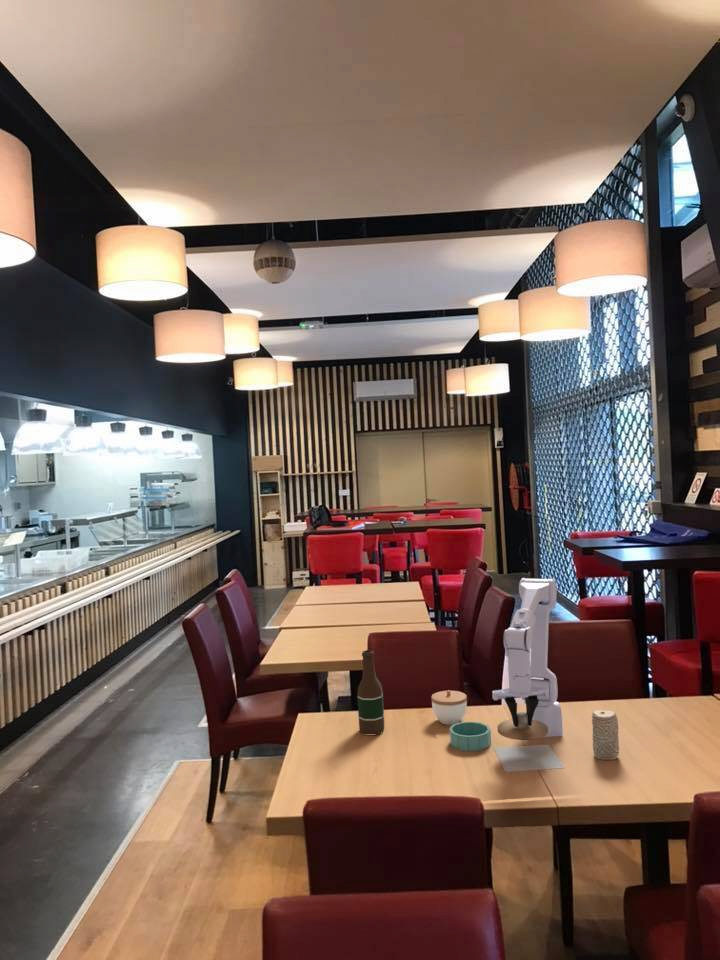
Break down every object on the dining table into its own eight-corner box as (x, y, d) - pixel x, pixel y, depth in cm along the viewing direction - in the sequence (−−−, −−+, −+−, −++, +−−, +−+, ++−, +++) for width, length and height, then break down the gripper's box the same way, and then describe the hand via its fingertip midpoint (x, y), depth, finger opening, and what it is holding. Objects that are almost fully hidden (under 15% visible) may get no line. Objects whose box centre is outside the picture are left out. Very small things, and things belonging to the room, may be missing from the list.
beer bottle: (389, 728, 214) (385, 649, 213) (376, 737, 207) (372, 655, 206) (367, 724, 218) (363, 646, 217) (354, 733, 211) (349, 653, 211)
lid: (540, 720, 193) (539, 704, 193) (554, 738, 180) (553, 721, 180) (492, 723, 193) (491, 707, 193) (503, 741, 180) (503, 724, 180)
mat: (548, 746, 194) (548, 744, 193) (565, 770, 178) (564, 767, 178) (493, 750, 193) (493, 747, 193) (505, 773, 178) (505, 771, 178)
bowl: (486, 736, 203) (485, 720, 203) (494, 751, 192) (493, 735, 192) (448, 738, 203) (447, 722, 203) (453, 754, 192) (453, 737, 192)
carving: (589, 761, 183) (587, 714, 183) (599, 750, 189) (596, 706, 189) (614, 766, 179) (611, 719, 179) (623, 755, 185) (621, 709, 185)
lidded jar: (467, 714, 221) (465, 684, 221) (468, 727, 211) (467, 696, 211) (432, 715, 223) (430, 685, 222) (432, 728, 212) (430, 697, 212)
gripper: (495, 679, 182) (498, 732, 182) (551, 676, 182) (554, 728, 183) (489, 671, 189) (492, 722, 189) (543, 668, 189) (546, 718, 190)
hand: (522, 724), depth 186 cm, fingers closed on lid, 3 cm apart
